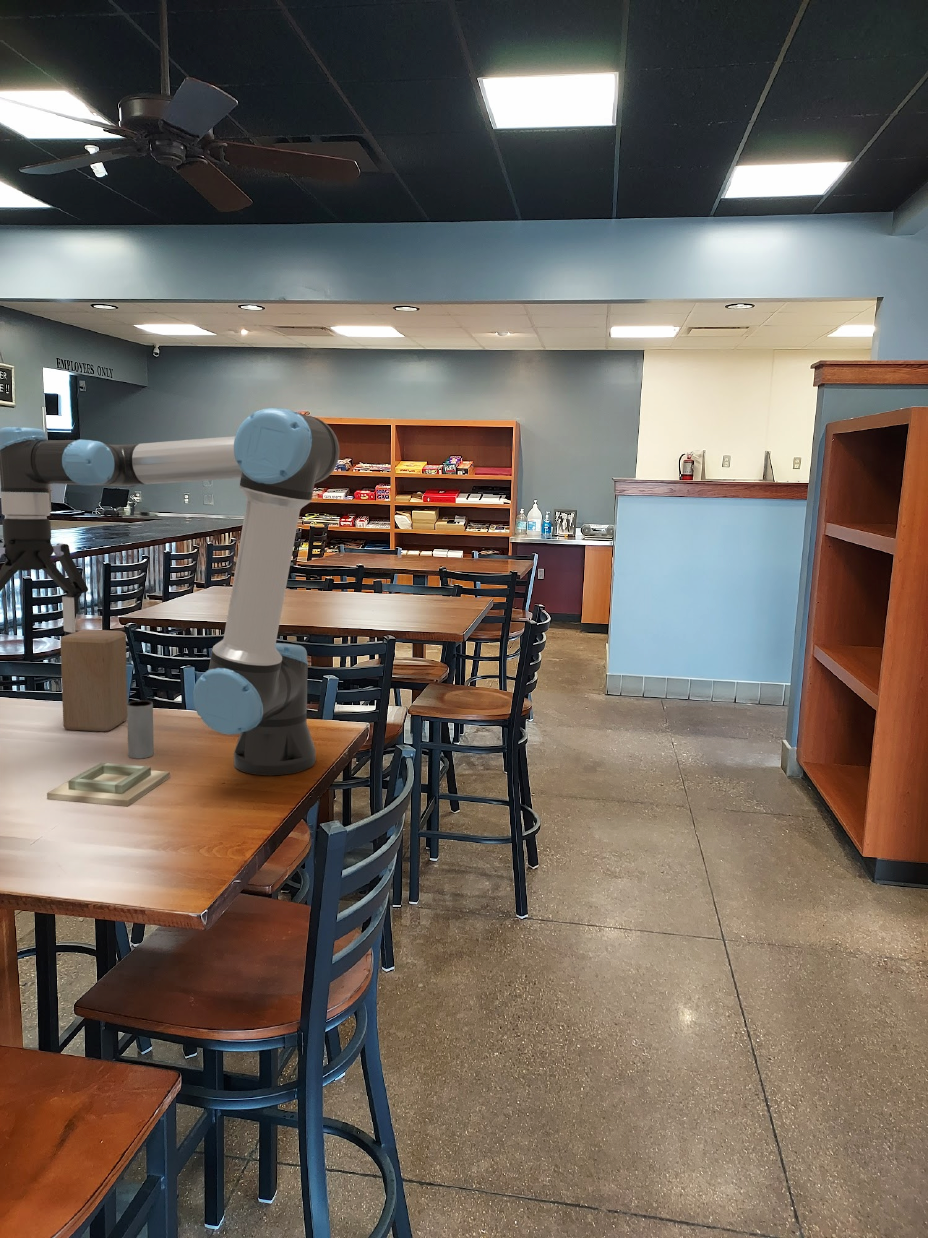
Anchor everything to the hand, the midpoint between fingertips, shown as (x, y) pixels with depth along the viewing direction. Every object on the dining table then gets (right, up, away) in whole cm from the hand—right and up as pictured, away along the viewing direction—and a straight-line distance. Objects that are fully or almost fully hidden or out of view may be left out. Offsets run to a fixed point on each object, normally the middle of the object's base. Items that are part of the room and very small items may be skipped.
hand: (33, 636), depth 146 cm
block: (-1, -20, +28) cm, 34 cm away
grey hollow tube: (+16, -23, +9) cm, 30 cm away
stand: (+17, -26, -8) cm, 32 cm away
